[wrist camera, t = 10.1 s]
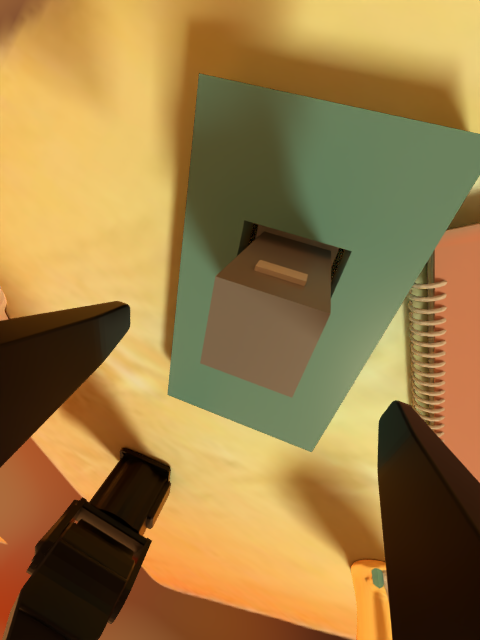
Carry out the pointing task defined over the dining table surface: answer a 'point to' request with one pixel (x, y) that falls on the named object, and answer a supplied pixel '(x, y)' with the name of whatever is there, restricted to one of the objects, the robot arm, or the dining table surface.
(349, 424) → the dining table surface
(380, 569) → the beer glass
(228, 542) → the dining table surface
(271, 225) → the green slotted board
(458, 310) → the notebook
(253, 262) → the block
